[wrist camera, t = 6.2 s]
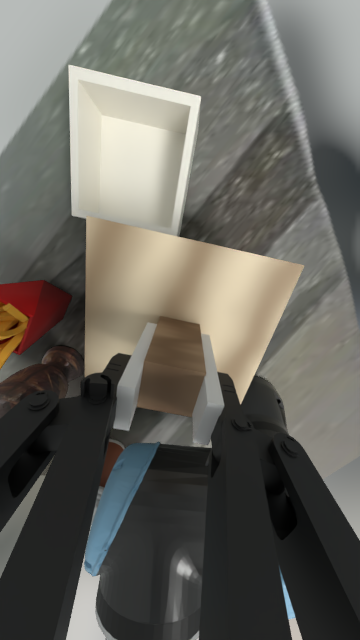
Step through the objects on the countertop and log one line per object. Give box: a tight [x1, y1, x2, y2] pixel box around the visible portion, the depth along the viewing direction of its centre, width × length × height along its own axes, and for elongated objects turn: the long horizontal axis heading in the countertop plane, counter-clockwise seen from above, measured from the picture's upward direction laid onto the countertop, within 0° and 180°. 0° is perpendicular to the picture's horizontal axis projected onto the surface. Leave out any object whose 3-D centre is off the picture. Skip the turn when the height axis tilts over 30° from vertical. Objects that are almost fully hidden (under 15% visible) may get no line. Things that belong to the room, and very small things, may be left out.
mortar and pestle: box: [0, 346, 85, 418], centre depth 27 cm, size 12×9×20 cm
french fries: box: [0, 280, 72, 369], centre depth 24 cm, size 9×8×15 cm
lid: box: [85, 216, 304, 417], centre depth 14 cm, size 15×15×8 cm
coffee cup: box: [91, 439, 125, 525], centre depth 40 cm, size 9×9×12 cm
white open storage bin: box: [69, 65, 201, 237], centre depth 22 cm, size 12×12×6 cm
